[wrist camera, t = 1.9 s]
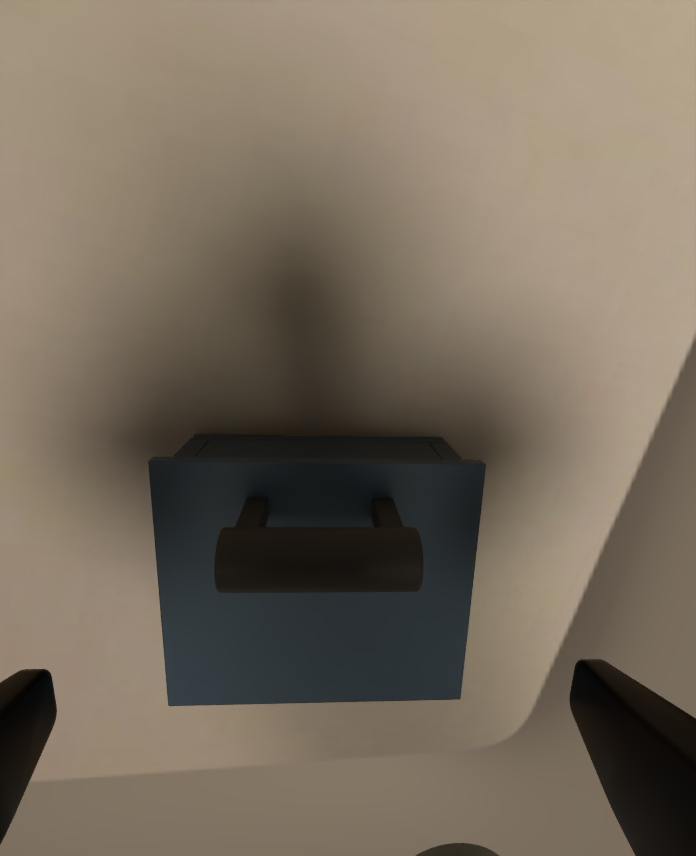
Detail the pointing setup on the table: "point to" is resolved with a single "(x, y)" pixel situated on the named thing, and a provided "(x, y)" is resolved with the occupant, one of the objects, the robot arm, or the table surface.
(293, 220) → the table surface
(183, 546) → the lid
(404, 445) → the box
